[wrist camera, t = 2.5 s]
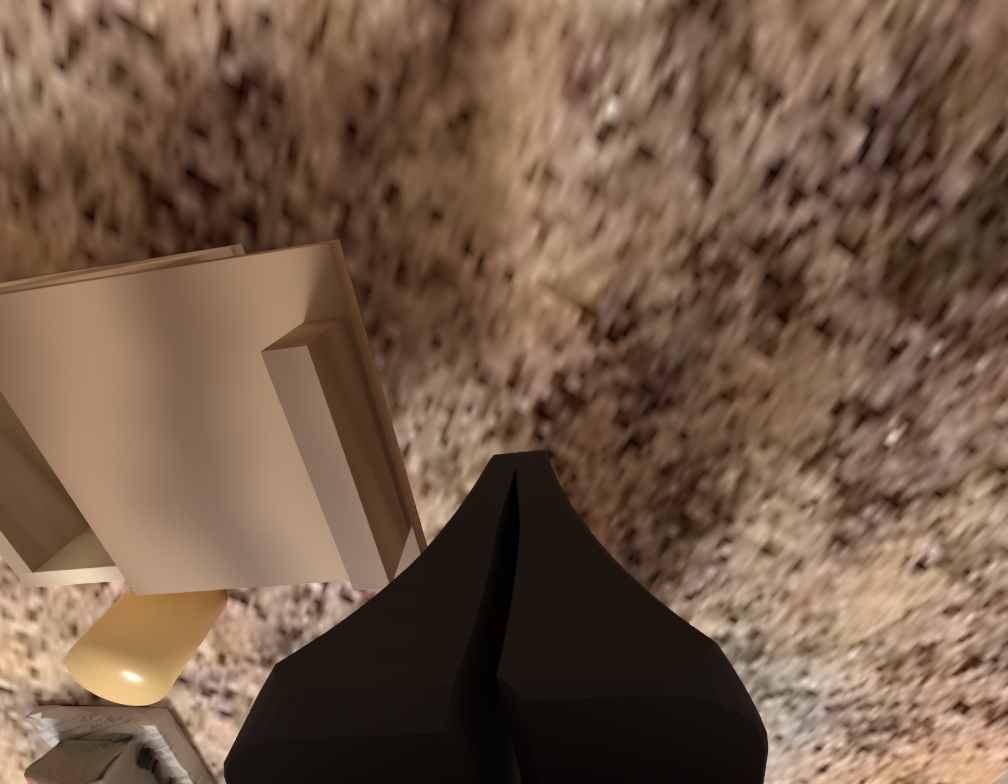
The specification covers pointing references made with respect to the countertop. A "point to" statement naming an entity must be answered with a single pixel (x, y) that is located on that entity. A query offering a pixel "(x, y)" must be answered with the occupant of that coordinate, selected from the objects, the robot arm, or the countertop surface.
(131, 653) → the cream bullet-shaped knob
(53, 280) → the wooden box
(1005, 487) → the countertop surface
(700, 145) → the countertop surface
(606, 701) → the robot arm
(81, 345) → the lid
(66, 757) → the packaged product
